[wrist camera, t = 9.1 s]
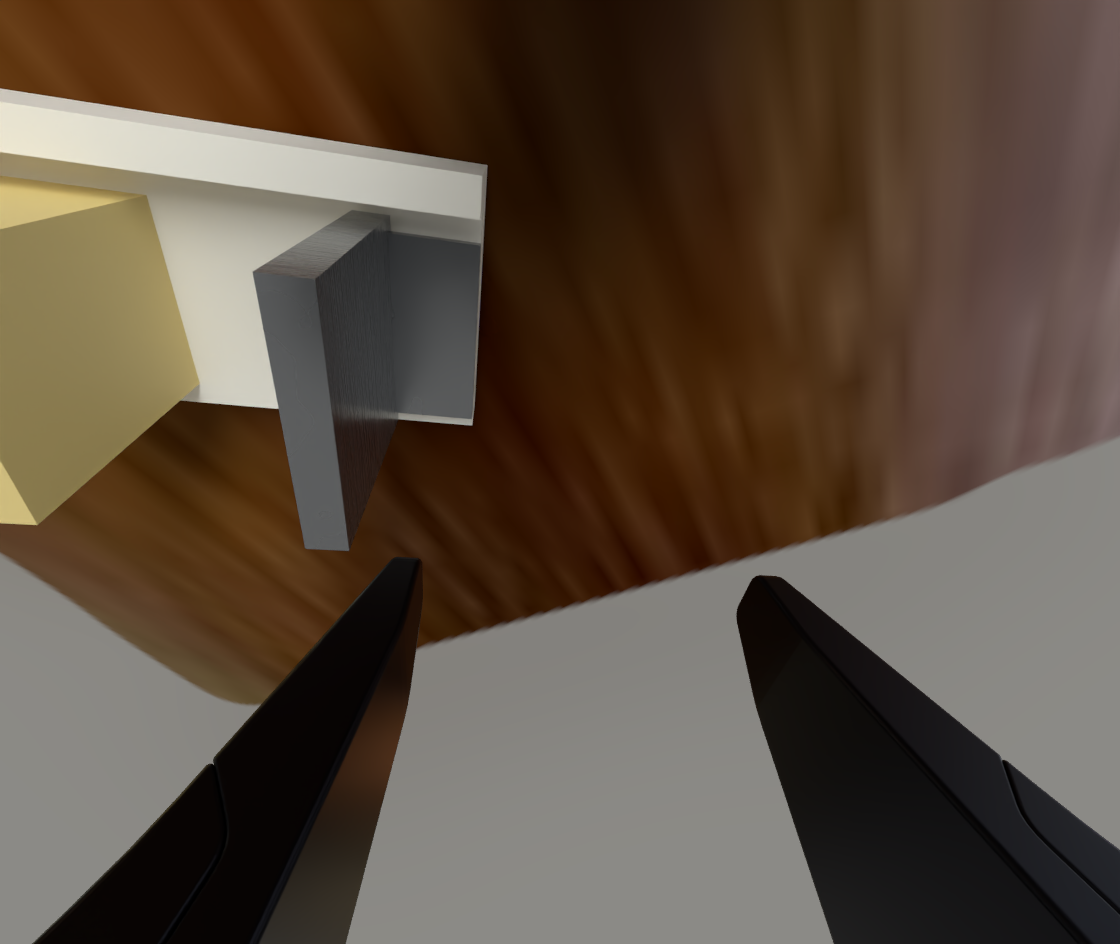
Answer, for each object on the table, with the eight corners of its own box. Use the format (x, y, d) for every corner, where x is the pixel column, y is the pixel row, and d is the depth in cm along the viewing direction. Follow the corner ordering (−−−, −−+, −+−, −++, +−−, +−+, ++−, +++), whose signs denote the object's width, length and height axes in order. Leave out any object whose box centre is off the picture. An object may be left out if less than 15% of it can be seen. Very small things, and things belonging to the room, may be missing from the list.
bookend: (481, 228, 14) (462, 296, 9) (471, 424, 18) (454, 556, 13) (352, 209, 14) (252, 271, 9) (368, 416, 18) (305, 548, 12)
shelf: (487, 165, 15) (471, 199, 9) (474, 405, 20) (458, 527, 14) (-354, 32, 12) (-1105, -33, 7) (-142, 349, 17) (-479, 473, 11)
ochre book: (146, 195, 14) (-119, 256, 8) (199, 383, 17) (37, 524, 11) (-27, 171, 13) (-445, 220, 7) (62, 371, 16) (-184, 514, 10)
